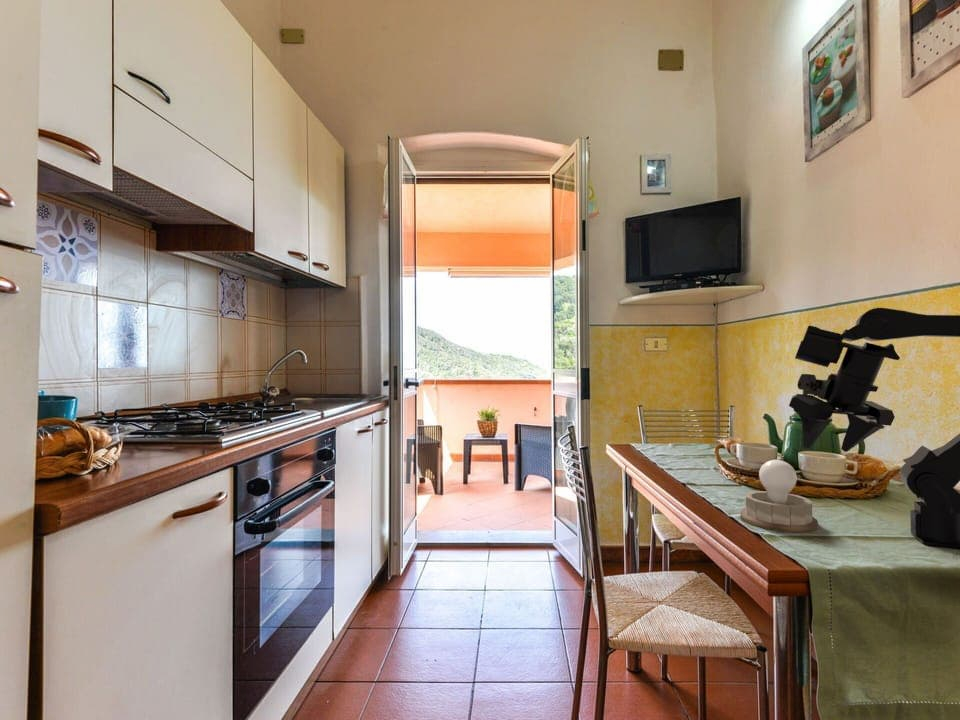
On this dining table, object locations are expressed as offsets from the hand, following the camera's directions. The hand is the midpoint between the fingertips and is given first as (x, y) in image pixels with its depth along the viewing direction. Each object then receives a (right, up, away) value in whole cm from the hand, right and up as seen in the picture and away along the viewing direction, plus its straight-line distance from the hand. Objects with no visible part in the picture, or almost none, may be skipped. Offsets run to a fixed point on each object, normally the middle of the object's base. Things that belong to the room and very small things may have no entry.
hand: (825, 449), depth 97 cm
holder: (-9, -14, +1) cm, 17 cm away
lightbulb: (-9, -13, +1) cm, 16 cm away
